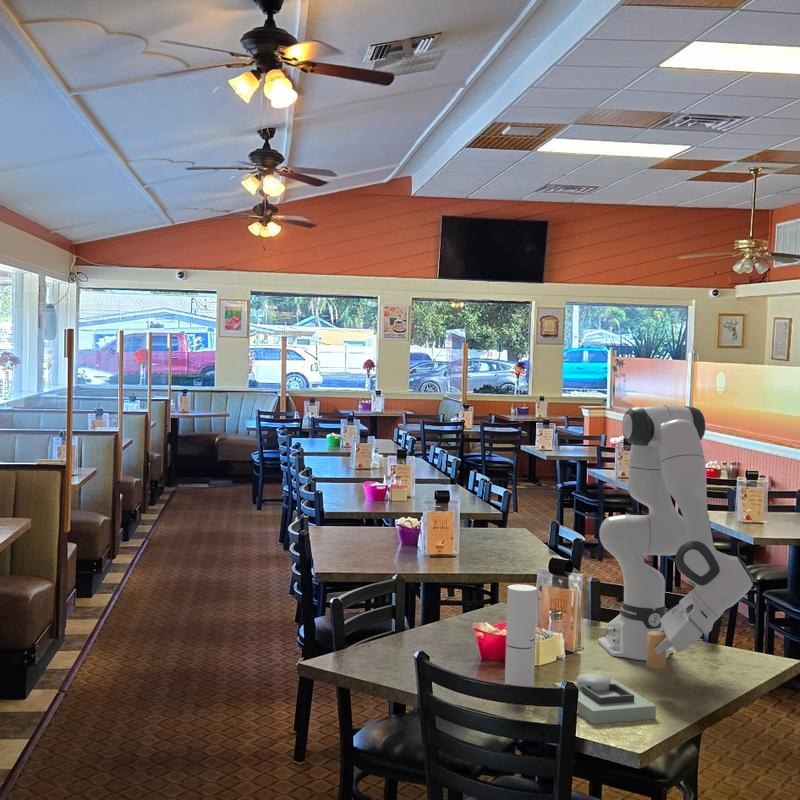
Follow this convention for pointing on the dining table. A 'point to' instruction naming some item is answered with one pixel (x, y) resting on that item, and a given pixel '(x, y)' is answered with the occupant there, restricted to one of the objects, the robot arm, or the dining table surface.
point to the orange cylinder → (652, 657)
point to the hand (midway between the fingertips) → (654, 648)
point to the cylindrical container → (520, 635)
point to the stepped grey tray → (610, 701)
